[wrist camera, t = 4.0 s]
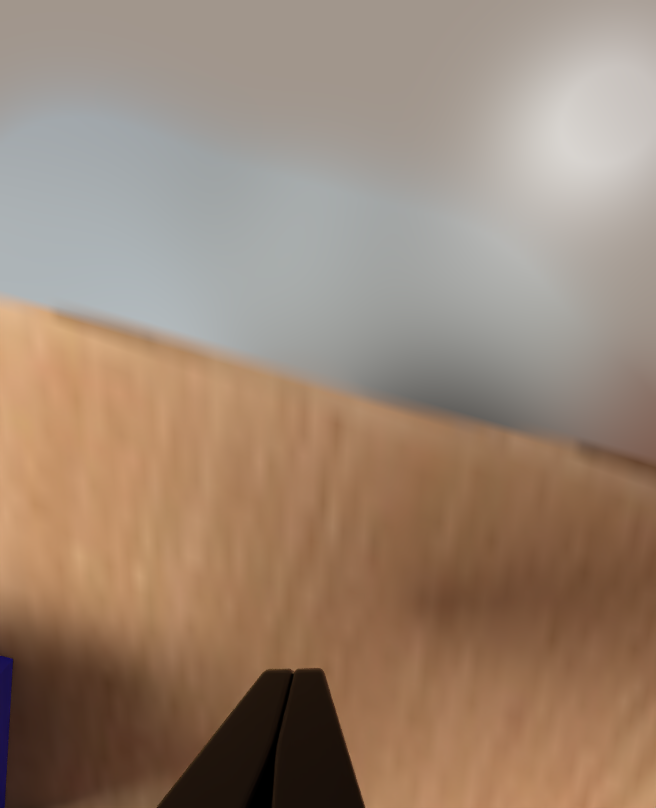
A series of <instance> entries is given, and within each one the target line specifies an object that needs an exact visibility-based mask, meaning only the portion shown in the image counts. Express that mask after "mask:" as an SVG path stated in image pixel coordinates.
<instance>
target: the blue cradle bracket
mask: <svg viewBox="0 0 656 808" xmlns="http://www.w3.org/2000/svg"><path fill="white" fill-rule="evenodd" d="M12 669H13V659H12V658H8V657H4V656H0V808H5V793H6V775H7V757H8V740H9V722H10V704H11V686H12Z"/></svg>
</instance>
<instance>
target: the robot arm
mask: <svg viewBox="0 0 656 808" xmlns="http://www.w3.org/2000/svg"><path fill="white" fill-rule="evenodd" d="M157 808H365V805H364V802H363V798H362V795H361V792H360V789H359V785H358V782H357V779H356V775H355V772H354V769H353V766H352V762H351V759H350V756H349V752H348V749H347V746H346V743H345V739H344V736H343V733H342V729H341V726H340V723H339V719H338V716H337V713H336V710H335V706H334V703H333V700H332V696H331V693H330V690H329V687H328V683H327V680H326V677H325V674H324V671H323V670H322V669H320V668H304V669H297V670H296V671H295V672H294V671H292V670H291V669H268V670H266V671H264V672H263V673H262V674H261V676H260V677H259V678H258V679H257V681H256V682H255V683H254V684H253V686H252V687H251V688H250V690H249V691H248V692H247V693H246V695H245V696H244V697H243V698H242V700H241V701H240V702H239V704H238V705H237V706H236V707H235V709H234V710H233V711H232V712H231V714H230V715H229V716H228V717H227V719H226V720H225V721H224V723H223V724H222V725H221V726H220V728H219V729H218V730H217V731H216V733H215V734H214V735H213V736H212V738H211V739H210V740H209V742H208V743H207V744H206V745H205V747H204V748H203V749H202V750H201V752H200V753H199V754H198V756H197V757H196V758H195V759H194V761H193V762H192V763H191V764H190V766H189V767H188V768H187V769H186V771H185V772H184V773H183V775H182V776H181V777H180V778H179V780H178V781H177V782H176V783H175V785H174V786H173V787H172V788H171V790H170V791H169V792H168V794H167V795H166V796H165V797H164V799H163V800H162V801H161V802H160V804H159V805H158V806H157Z"/></svg>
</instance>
